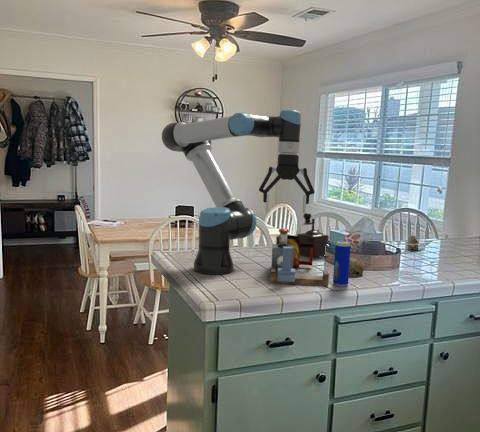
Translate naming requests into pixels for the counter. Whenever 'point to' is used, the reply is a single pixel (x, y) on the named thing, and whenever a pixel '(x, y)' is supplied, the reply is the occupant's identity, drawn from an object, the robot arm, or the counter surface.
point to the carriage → (286, 266)
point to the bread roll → (355, 267)
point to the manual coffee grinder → (313, 239)
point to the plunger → (283, 237)
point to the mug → (297, 250)
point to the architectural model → (412, 242)
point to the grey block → (279, 256)
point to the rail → (303, 279)
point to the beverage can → (341, 263)
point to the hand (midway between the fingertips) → (285, 212)
